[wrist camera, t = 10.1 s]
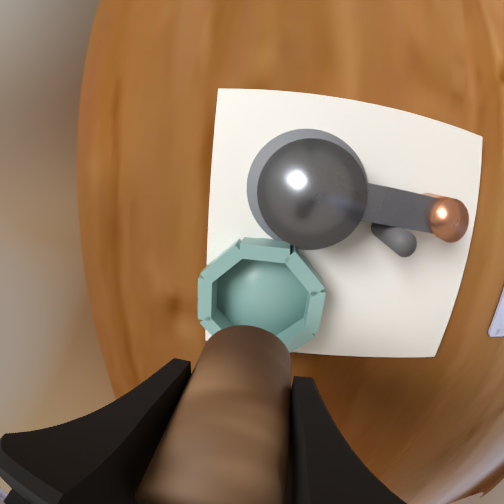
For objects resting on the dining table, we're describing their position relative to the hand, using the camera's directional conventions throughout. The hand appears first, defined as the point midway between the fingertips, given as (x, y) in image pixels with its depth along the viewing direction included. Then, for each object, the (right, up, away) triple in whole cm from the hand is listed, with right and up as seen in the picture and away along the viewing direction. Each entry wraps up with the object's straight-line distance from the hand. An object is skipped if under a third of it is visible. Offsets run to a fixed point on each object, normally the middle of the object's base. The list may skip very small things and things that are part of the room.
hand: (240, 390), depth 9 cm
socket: (+1, +3, +9) cm, 9 cm away
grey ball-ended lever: (+6, +8, +6) cm, 12 cm away
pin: (0, 0, +2) cm, 2 cm away
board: (+6, +6, +7) cm, 11 cm away
